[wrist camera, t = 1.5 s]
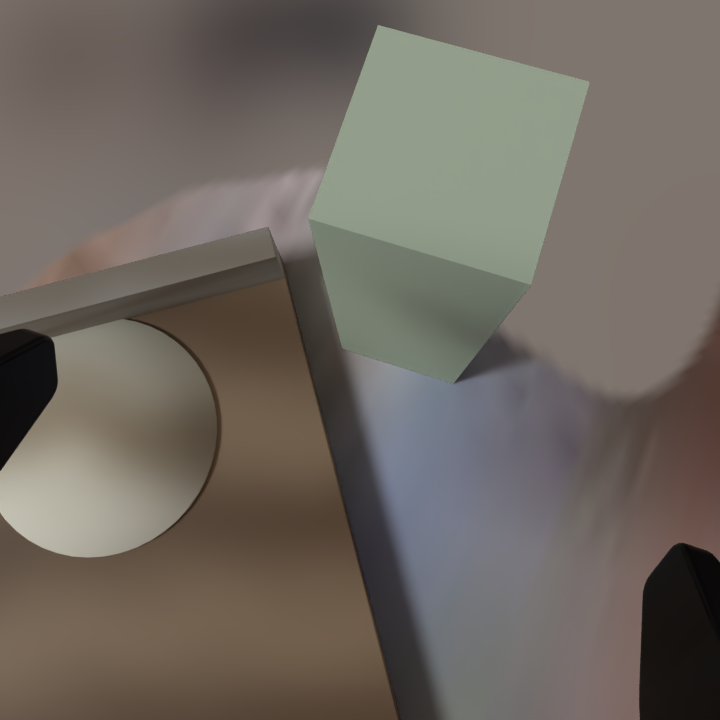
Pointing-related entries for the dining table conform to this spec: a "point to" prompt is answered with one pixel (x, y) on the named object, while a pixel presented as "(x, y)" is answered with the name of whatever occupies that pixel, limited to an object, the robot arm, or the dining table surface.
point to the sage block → (439, 198)
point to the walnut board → (181, 507)
